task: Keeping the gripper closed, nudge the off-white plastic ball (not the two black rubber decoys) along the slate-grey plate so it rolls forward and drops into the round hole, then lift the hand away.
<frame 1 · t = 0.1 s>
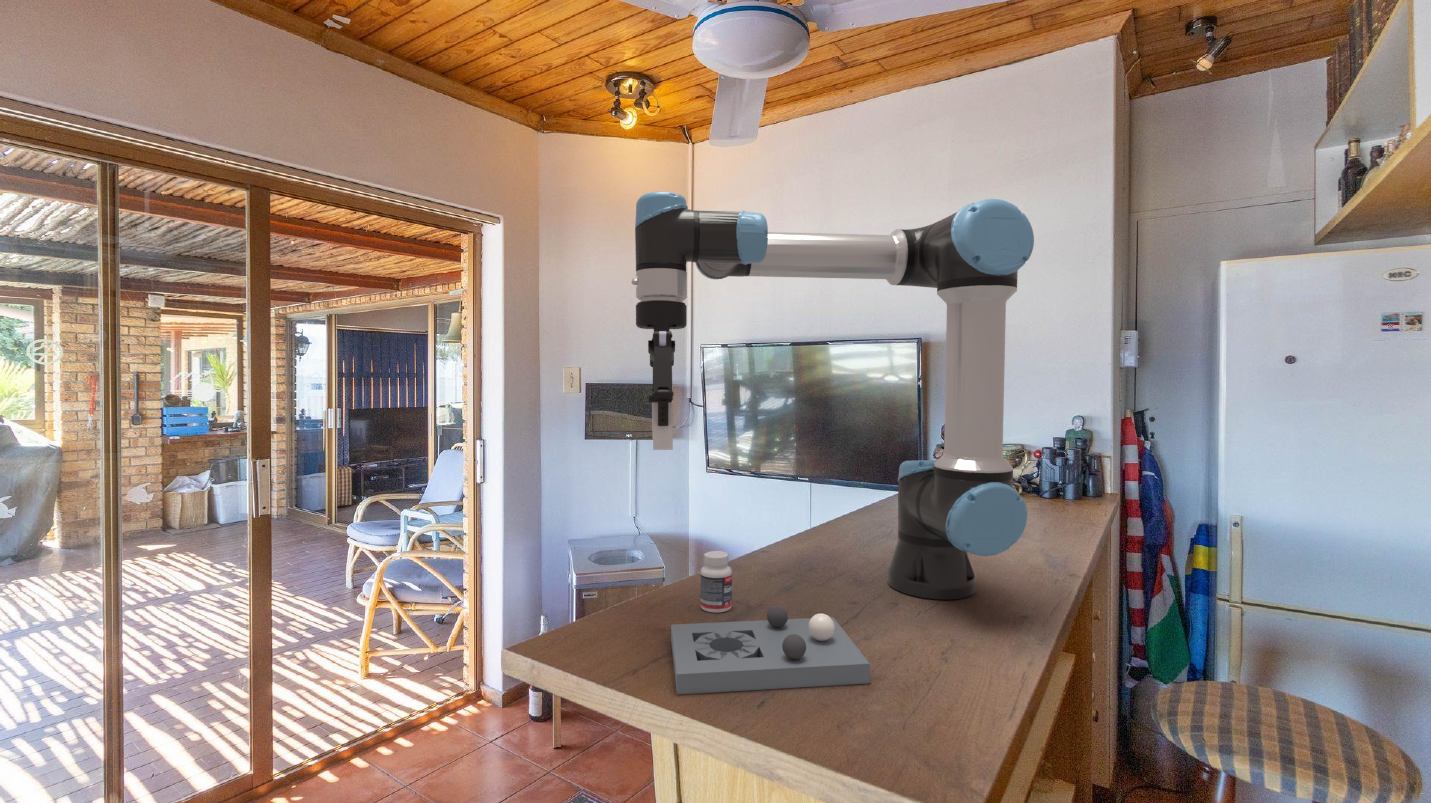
hand: (661, 444, 94), 28 cm above the counter, fingers open, 13 cm apart
ball: (821, 627, 85), point 4 cm above the counter, touching plate
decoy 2: (794, 646, 79), point 4 cm above the counter, touching plate
pill bottle: (716, 608, 103), on the counter
plate: (763, 661, 84), on the counter
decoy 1: (777, 616, 89), point 4 cm above the counter, touching plate
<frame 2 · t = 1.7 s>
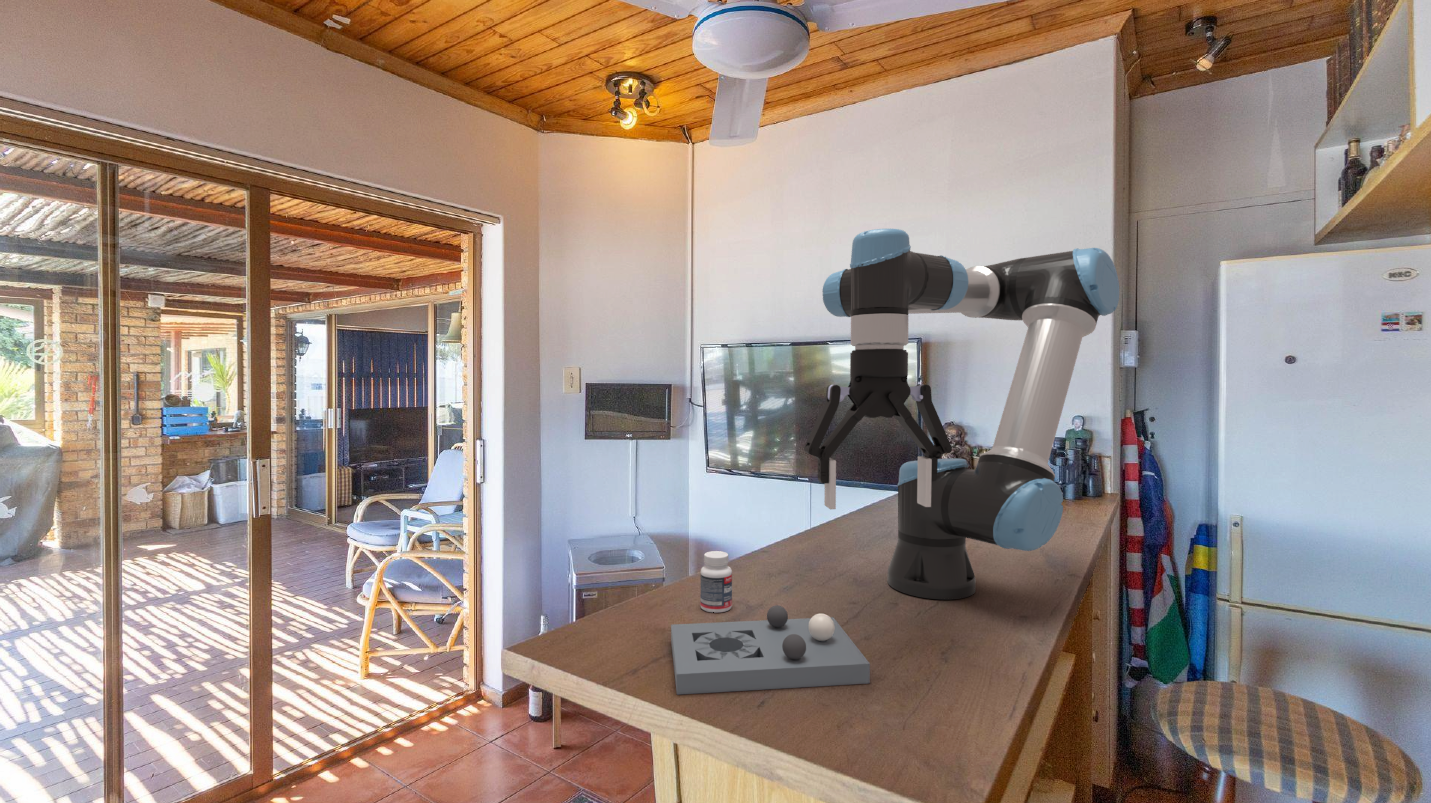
hand: (877, 506, 85), 21 cm above the counter, fingers open, 12 cm apart
nothing on the counter moved.
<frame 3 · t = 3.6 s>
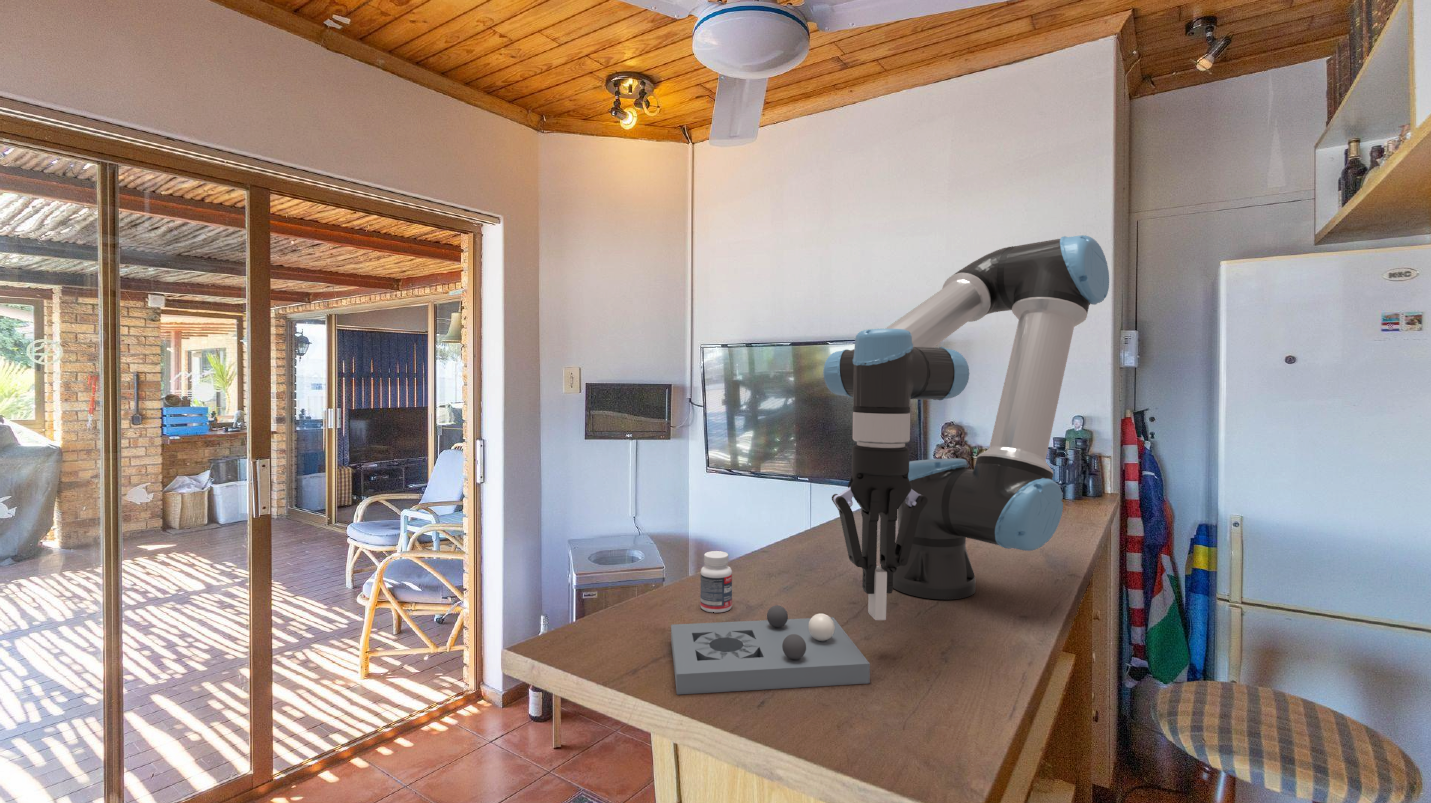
hand: (876, 616, 85), 5 cm above the counter, fingers closed
nothing on the counter moved.
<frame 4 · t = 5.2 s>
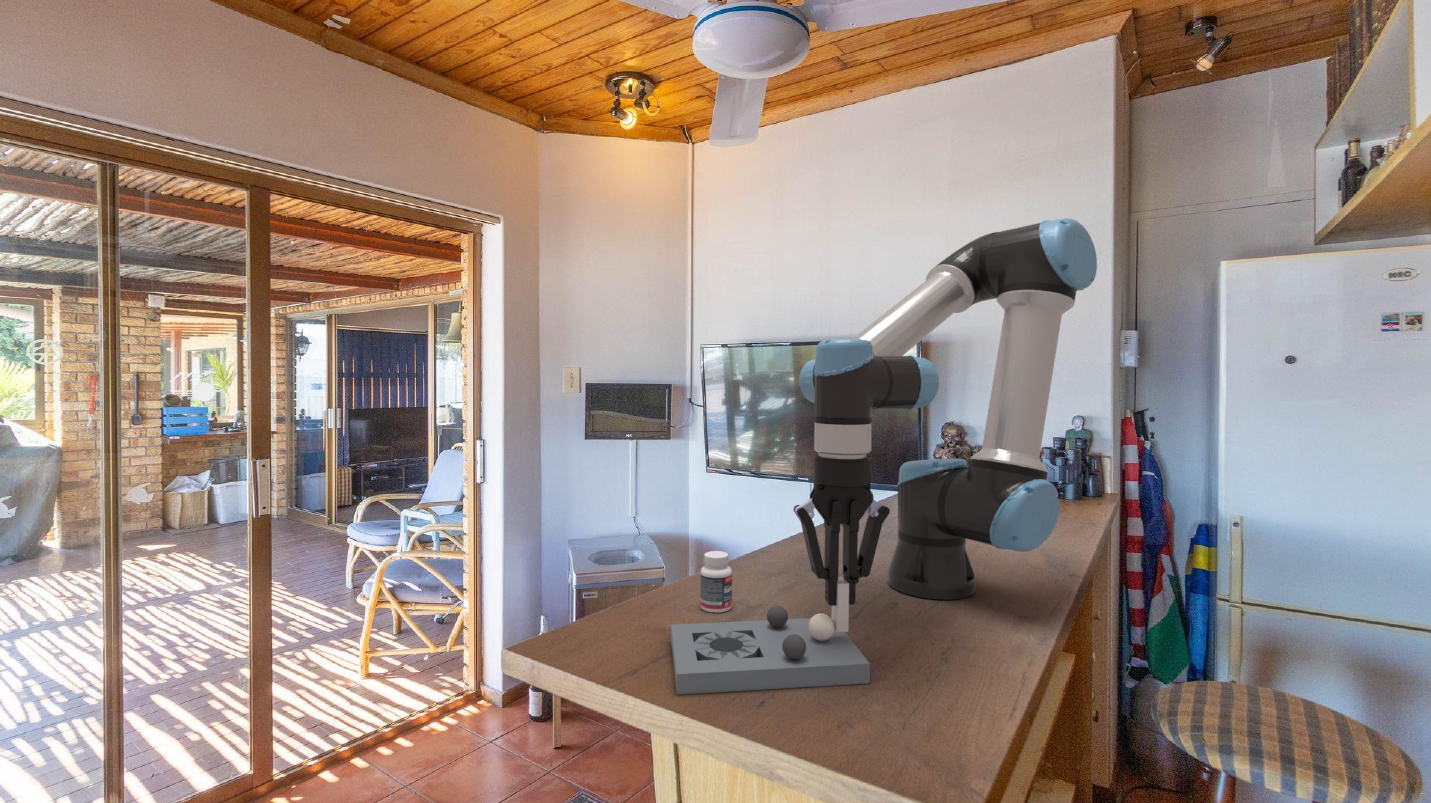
hand: (839, 627, 85), 4 cm above the counter, fingers closed
nothing on the counter moved.
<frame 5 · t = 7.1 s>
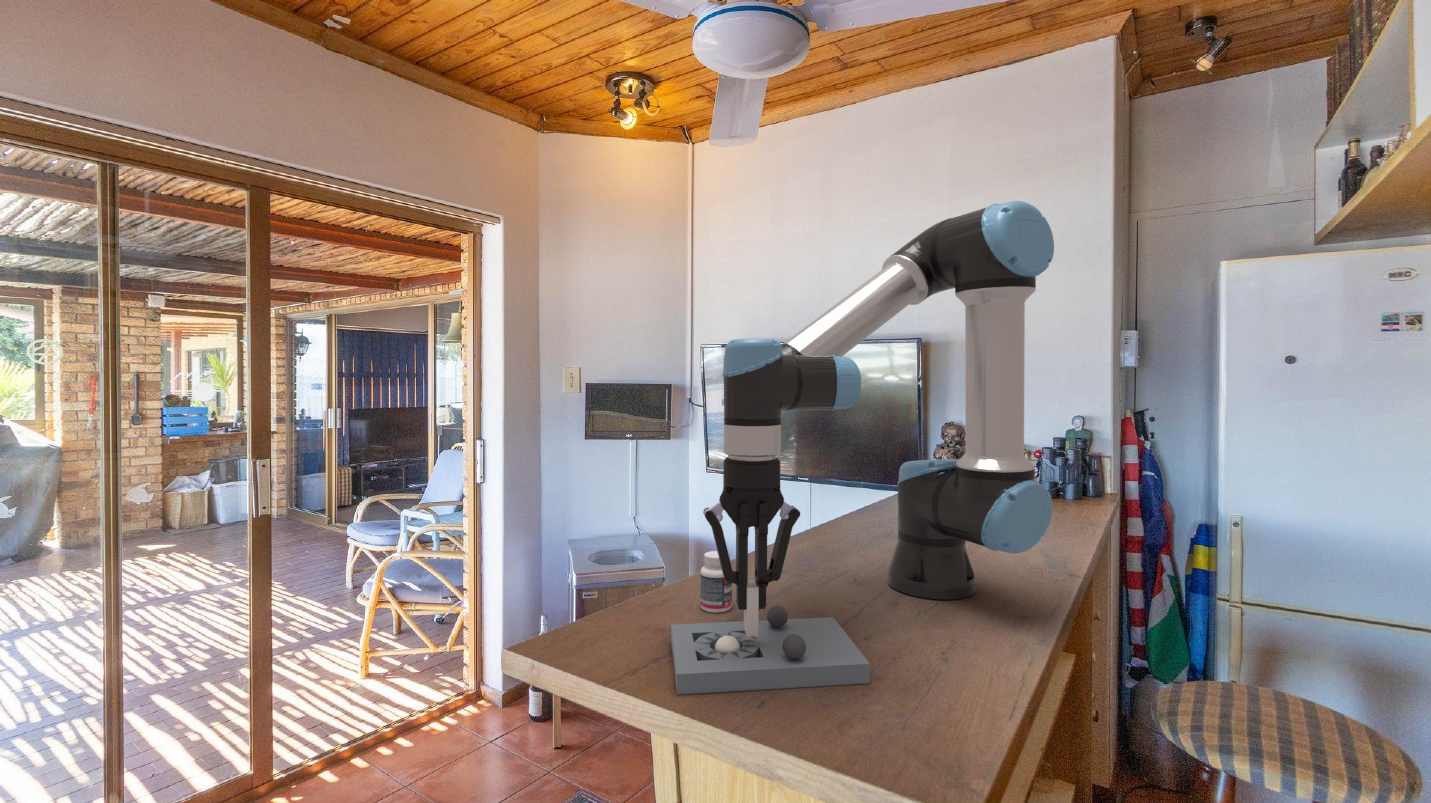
hand: (750, 632, 84), 4 cm above the counter, fingers closed
ball: (727, 649, 83), point 2 cm above the counter, tilted 95°
everything else where it was.
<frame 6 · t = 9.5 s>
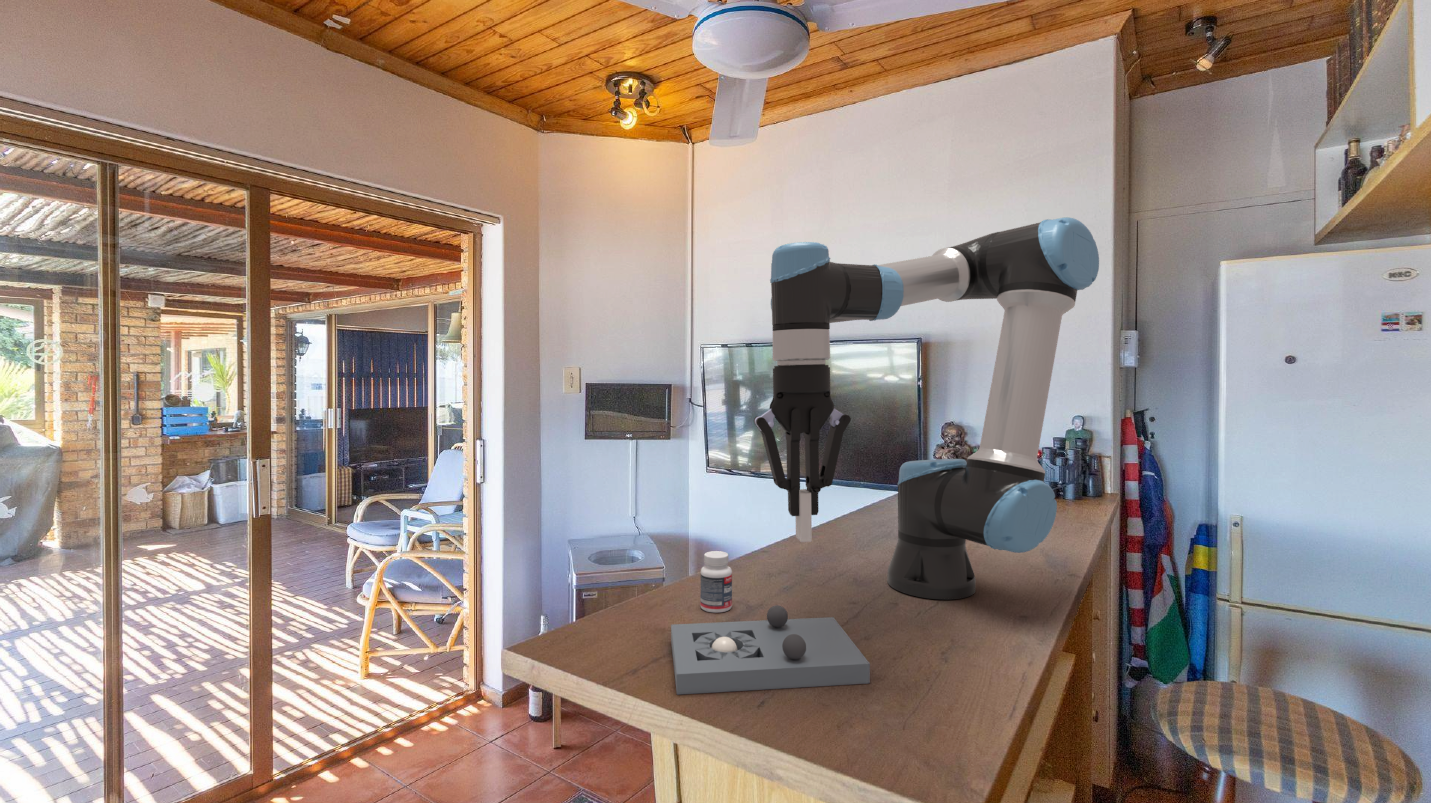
hand: (803, 539, 84), 16 cm above the counter, fingers closed
ball: (724, 650, 83), point 2 cm above the counter, tilted 111°
everything else where it was.
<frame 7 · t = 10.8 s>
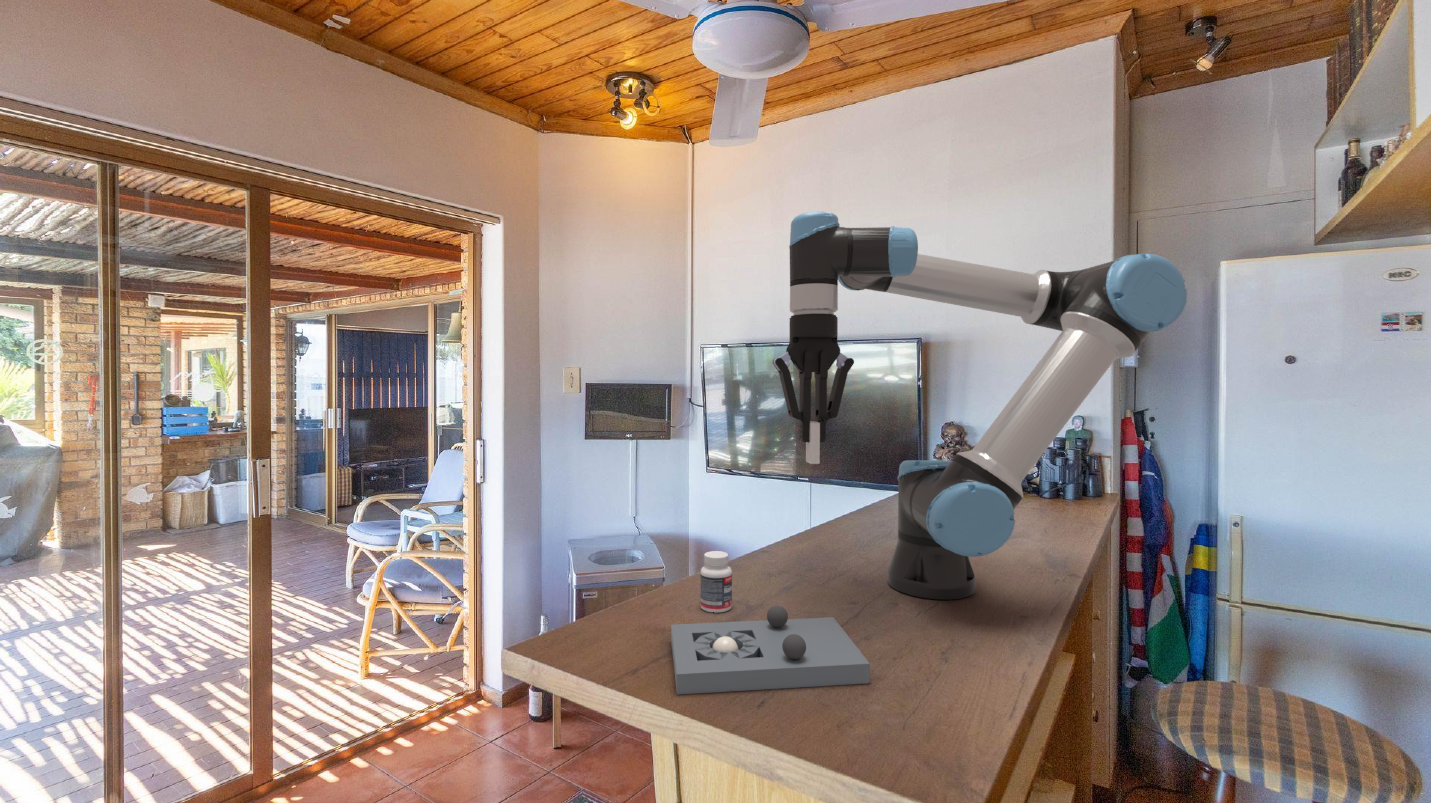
hand: (812, 462, 100), 24 cm above the counter, fingers closed
nothing on the counter moved.
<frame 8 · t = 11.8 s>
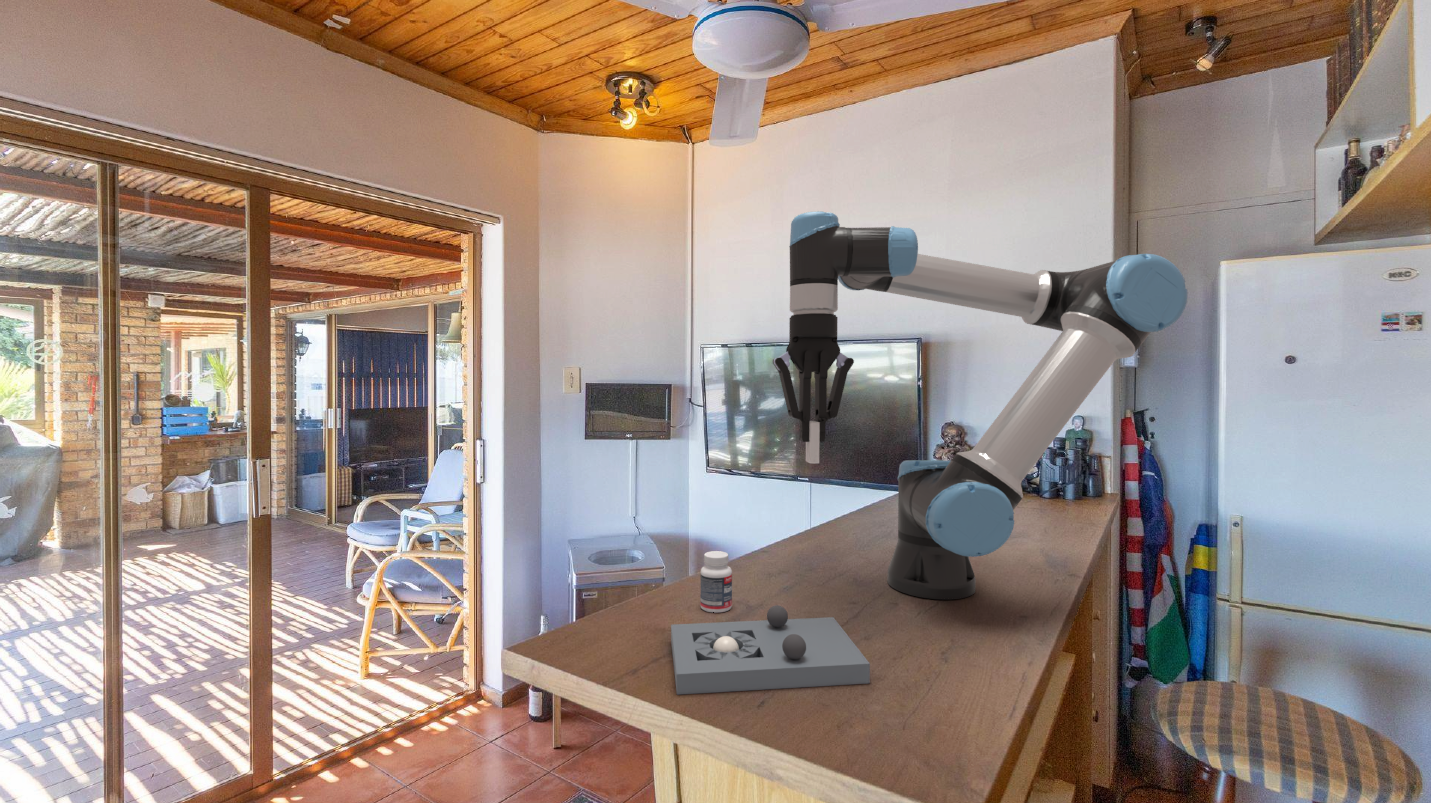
hand: (812, 462, 100), 24 cm above the counter, fingers closed
nothing on the counter moved.
at the end: ball 0.0 cm from the target spot in the plate, point 1.7 cm above the plate's base; ball point 1.7 cm above the counter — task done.
